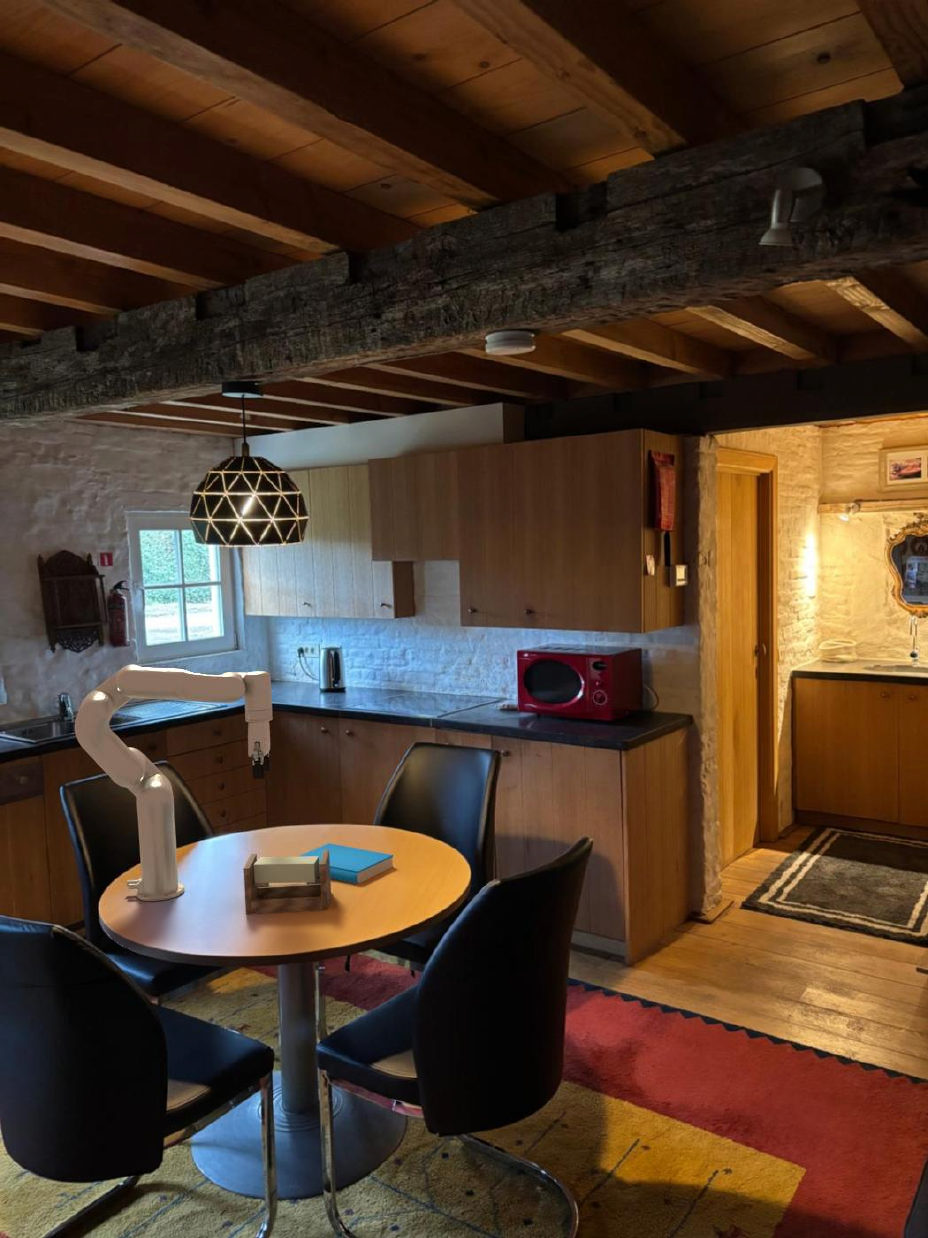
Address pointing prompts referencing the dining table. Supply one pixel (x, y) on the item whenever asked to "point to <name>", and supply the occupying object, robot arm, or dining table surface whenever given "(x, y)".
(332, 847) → the book
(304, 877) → the pale green block
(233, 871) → the dining table surface
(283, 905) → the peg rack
